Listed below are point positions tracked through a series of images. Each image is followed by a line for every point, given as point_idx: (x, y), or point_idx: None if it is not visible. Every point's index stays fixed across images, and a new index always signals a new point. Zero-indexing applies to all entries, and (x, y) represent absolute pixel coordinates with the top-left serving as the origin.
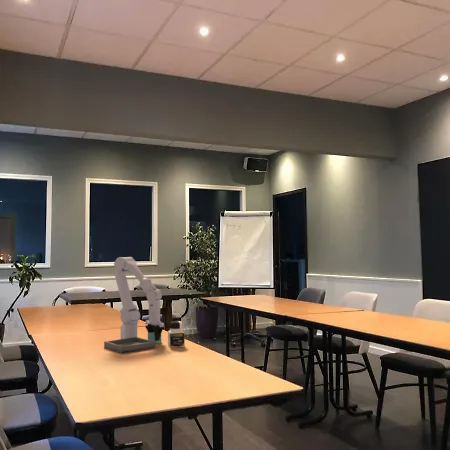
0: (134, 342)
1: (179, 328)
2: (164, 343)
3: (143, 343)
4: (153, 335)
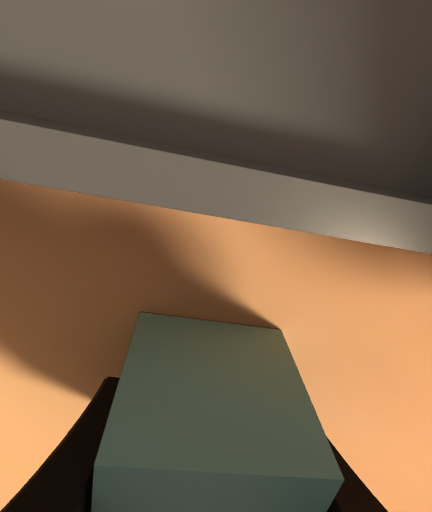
0: (390, 91)
1: None
2: (45, 406)
3: None
4: (106, 433)
